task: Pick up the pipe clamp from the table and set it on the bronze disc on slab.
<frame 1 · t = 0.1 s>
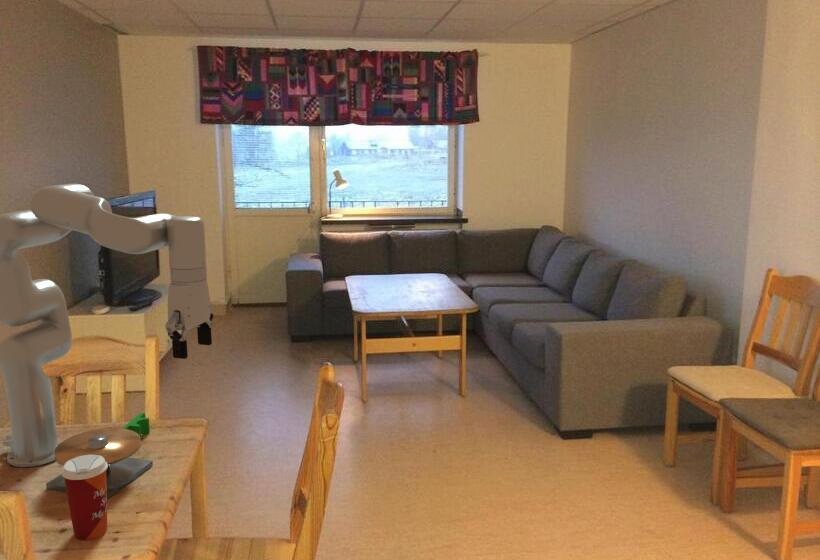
hand: (193, 351, 153), 31 cm above the table, tool pointing down, fingers open, 9 cm apart
pipe clamp: (137, 438, 182), on the table
coffee cup: (91, 532, 139), on the table
bronze disc on slab: (101, 476, 161), on the table
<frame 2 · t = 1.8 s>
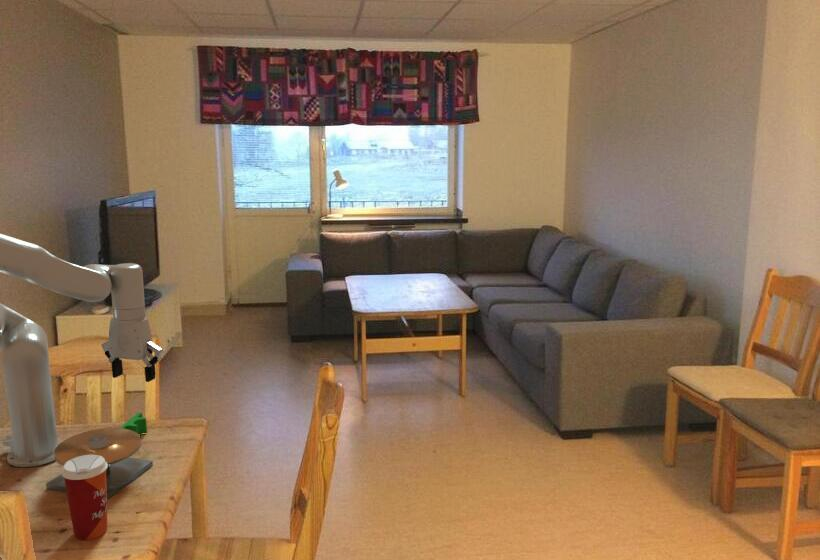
hand: (134, 378, 178), 16 cm above the table, tool pointing down, fingers open, 9 cm apart
nothing on the table moved.
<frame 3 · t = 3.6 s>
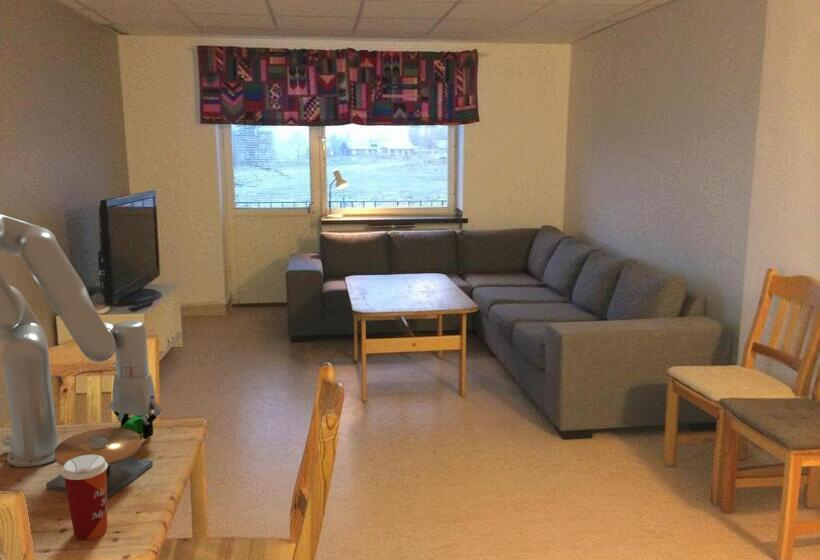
hand: (137, 434, 182), 1 cm above the table, tool pointing down, fingers open, 5 cm apart
pipe clamp: (134, 438, 182), on the table, touching gripper
everything else where it was.
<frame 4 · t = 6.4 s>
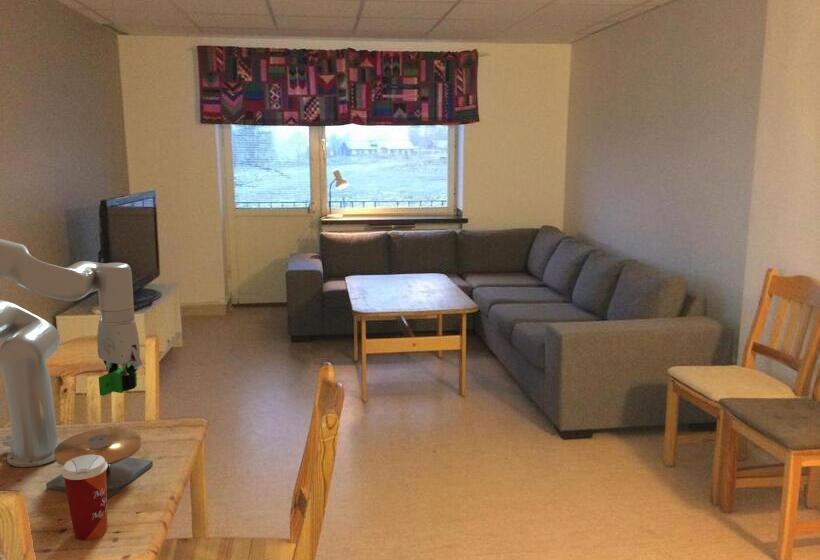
hand: (122, 386, 170), 17 cm above the table, tool pointing down, fingers closed on pipe clamp, 4 cm apart
pipe clamp: (122, 389, 170), point 16 cm above the table, touching gripper
everything else where it was.
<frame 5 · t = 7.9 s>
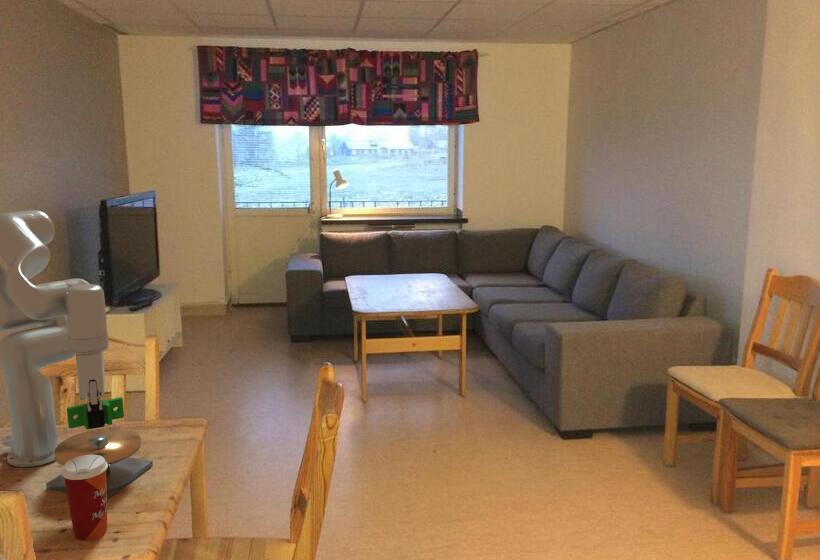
hand: (96, 422, 152), 16 cm above the table, tool pointing down, fingers closed on pipe clamp, 4 cm apart
pipe clamp: (97, 424, 153), point 15 cm above the table, touching gripper
everything else where it was.
when the fingers open (10 cm above the table, at t = 9.2 s): pipe clamp drops 1 cm, resting on bronze disc on slab.
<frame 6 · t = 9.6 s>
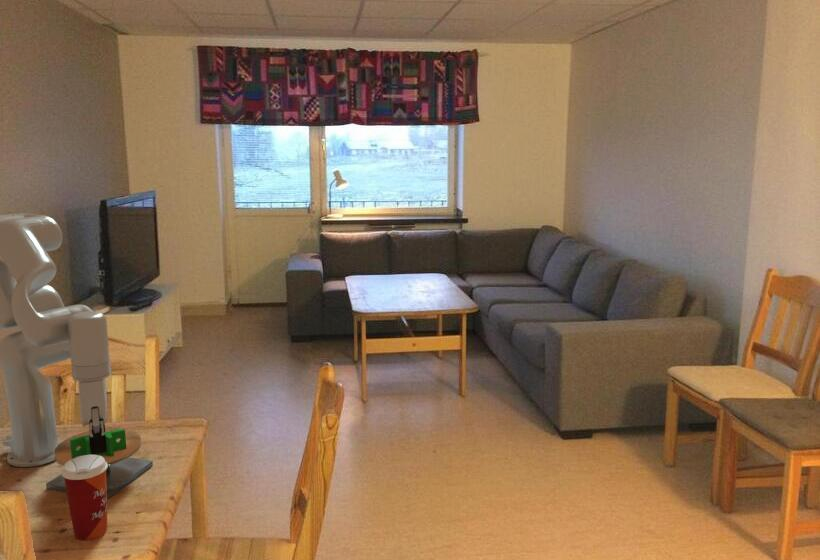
hand: (98, 443, 153), 11 cm above the table, tool pointing down, fingers open, 8 cm apart
pipe clamp: (99, 456, 154), point 8 cm above the table, touching bronze disc on slab
everything else where it was.
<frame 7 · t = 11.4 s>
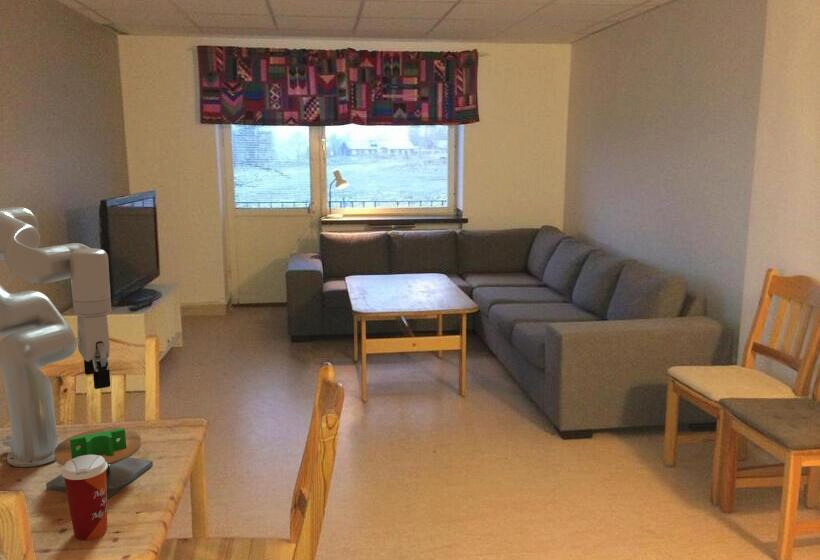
hand: (97, 380, 155), 24 cm above the table, tool pointing down, fingers open, 9 cm apart
nothing on the table moved.
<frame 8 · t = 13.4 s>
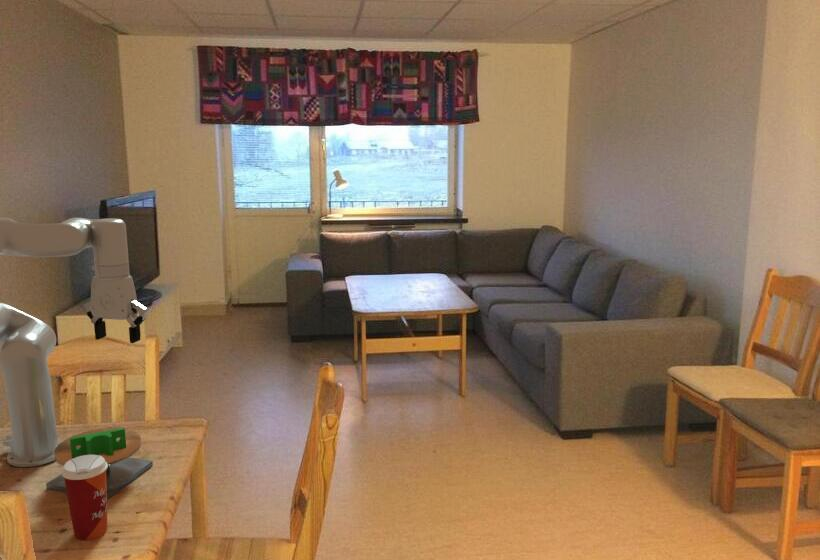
hand: (118, 339, 170), 28 cm above the table, tool pointing down, fingers open, 9 cm apart
nothing on the table moved.
at the end: pipe clamp point 7.8 cm above the table; pipe clamp 5.2 cm from the bronze disc on slab (horizontally); the gripper is holding nothing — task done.
